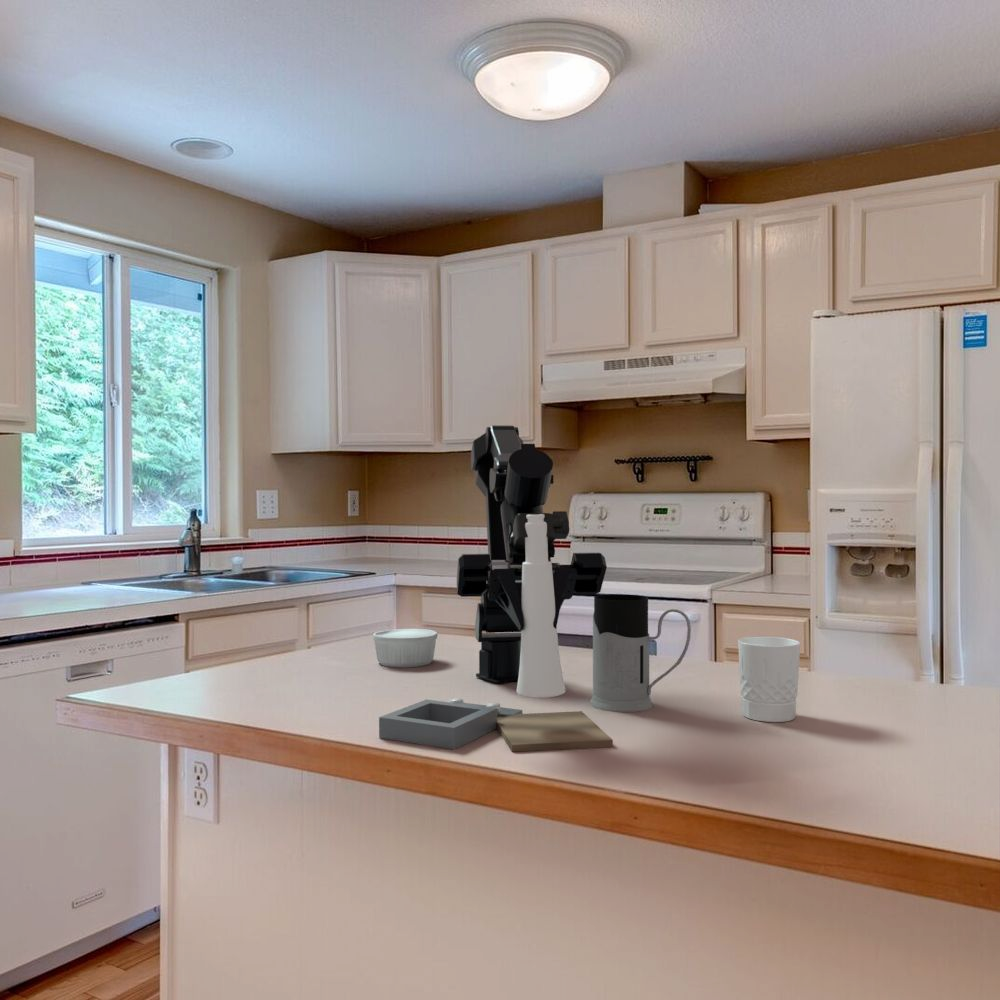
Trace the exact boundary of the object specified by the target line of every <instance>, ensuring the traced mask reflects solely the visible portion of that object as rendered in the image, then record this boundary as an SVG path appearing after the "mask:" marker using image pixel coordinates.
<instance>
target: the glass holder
mask: <svg viewBox="0 0 1000 1000" xmlns="http://www.w3.org/2000/svg"><path fill="white" fill-rule="evenodd" d="M593 598H594V599H593V603H594V604H593V608H594V611H593V615H592V695H591V696H592V697H591V698H590V701H589V705H590V706H591V707H593V708H595V709H598V710H602V711H607V712H608V711H609V712H618V713H619V712H620V713H621V712H623V713H624V712H625V713H627V712H629V713H630V712H632V713H633V712H640V711H641V712H642V711H646V710H649V709H651V708H653V705H654V704H653V702H652V700H651V696H650V695H651V693H652V688H653V686H655V685H656V684H657V683H658V682H659V681H661V680H662V679H664V678H665V677H666V676H667V675H668V674H670V673H671V672H672V671H673V670H674V669H675V668H677V667H678V666H679V665H680V664H681V663H682V661H683V660H684V657H685V655H686V653H687V651H688V649H689V645H690V641H691V635H692V633H691V629H692V628H691V627H692V626H691V622H690V621H691V620H690V619H689V617H688V615H687V614H686V613H684V611H682V610H679V609H675V608H671V609H667V610H666V611H664V612H663V613H662V614H661V615H660V617H659V620H658V624H657V633H656V636H650V634H649V597H648V596H645V595H639V594H624V593H622V594H621V593H620V594H617V593H615V594H613V593H611V594H600V595H595V596H594V597H593ZM670 613H678V614H680V615H681V616H683V618H684V619H685V620H686V625H687V626H686V627H687V634H686V641H685V645H684V648H683V650H682V652H681V654H680V656H679V658H678V659H677V660H676V662H675V663H674V664H673V665H672V666H671V667H669V669H667V670H666V671H665V672H664V673H662V674H660V676H658V677H657V678H656V679H655V680H653V681H652V682H651V683H650V641H651V640H657V639H659V638H660V636H661V633H662V625H663V620H664V618H665V617H666V615H667V614H670Z"/></svg>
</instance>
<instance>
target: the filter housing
mask: <svg viewBox="0 0 1000 1000" xmlns="http://www.w3.org/2000/svg"><path fill="white" fill-rule="evenodd" d="M508 714H510V715H512V714H523V709H517V708H512V707H511V708H510V707H502V706H501V704H500V703H498V702H488V703H486V704H485V705H484V704H480V703H479V704H477V703H470V702H464V699H463V698H459V697H457V698H455V697H454V698H450V699H449V701H441V700H434V699H424V700H422V701H421V700H420V701H418V702H415V703H413V704H411V705H408V706H405V707H403V708H400V709H397V710H394V711H392V712H389V713H387V714H383V715H382V716H379V717H378V728H379V729H378V738H379V739H385V740H392V741H397V742H405V743H413V744H417V745H423V746H431V747H436V748H443V749H451V750H456V749H457V748H460V747H462V746H464V745H466V744H468V743H470V742H472V741H474V740H476V739H478V738H480V737H483V736H485V735H486V734H487V735H488V734H489V733H491V732H492V731H494V730H496V729H497V722H498V721H497V715H508ZM510 715H508V717H509V716H510ZM504 718H505V717H504V716H503V719H504ZM506 718H507V717H506ZM499 720H500V716H499ZM497 730H498V729H497Z"/></svg>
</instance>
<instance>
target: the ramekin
mask: <svg viewBox="0 0 1000 1000" xmlns="http://www.w3.org/2000/svg"><path fill="white" fill-rule="evenodd" d="M372 638H373V639H372V640H373V641H374V646H375V647H374V648H375V653H376V654H375V655H376V658H377V662H378V663H379V664H380V665H382V666H384V667H391V668H414V667H423V666H426V665H429V664H431V662H432V661H433V660H434V658H435V657H434V656H435V650H436V642H437V640H438V632H437V631H435V630H432V629H425V628H398V629H395V628H394V629H387V630H380V631H376V632H374V633H373V635H372Z"/></svg>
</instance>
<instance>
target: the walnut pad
mask: <svg viewBox="0 0 1000 1000" xmlns="http://www.w3.org/2000/svg"><path fill="white" fill-rule="evenodd" d="M508 715H510V714H508ZM508 715H497V721H498V722H497V732H499V734H500V736H501V737H502V739H503V741H504V742H505V744H506V745H507V747H508V748H509V750H510V751H511V752H512V753H514V752H531V751H532V752H534V751H535V752H537V751H553V750H554V751H556V750H572V749H573V750H574V749H592V748H593V749H594V748H609V747H614V746H613V745H614V744H613V743H614V741H613V739H612V738H611V736H609V735H608V734H607V733H606V732H605V731H604V730H603V729H601V727H600V726H599V725H597V724H596V723H595V722H594V721H593V720H592V719H591V718H590V717H589V716H588V715H586V714H585V713H584V712H583V711H582V710H581V711H579V710H577V711H560V712H559V711H558V712H557V711H555V712H537V713H536V712H534V713H531V712H530V713H522V714H512V715H510V716H509V717H508ZM499 716H500V720H499ZM503 716H504V717H505V718H504V719H503ZM506 717H507V718H506Z"/></svg>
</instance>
